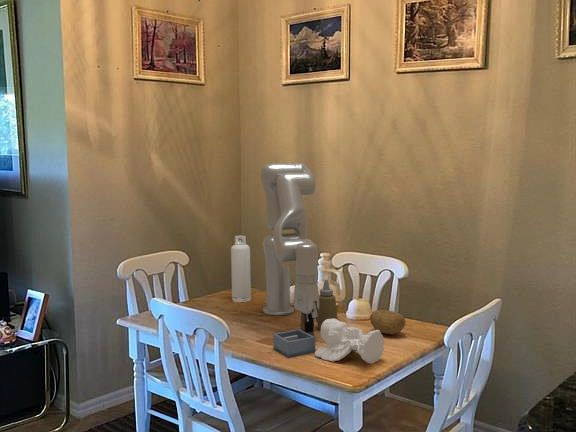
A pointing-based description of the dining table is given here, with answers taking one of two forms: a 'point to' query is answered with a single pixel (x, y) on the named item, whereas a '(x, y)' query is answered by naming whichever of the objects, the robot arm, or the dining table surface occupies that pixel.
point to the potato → (387, 321)
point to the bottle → (240, 270)
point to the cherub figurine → (349, 342)
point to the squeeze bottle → (326, 305)
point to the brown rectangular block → (303, 319)
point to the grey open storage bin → (294, 343)
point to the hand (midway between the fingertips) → (307, 330)
